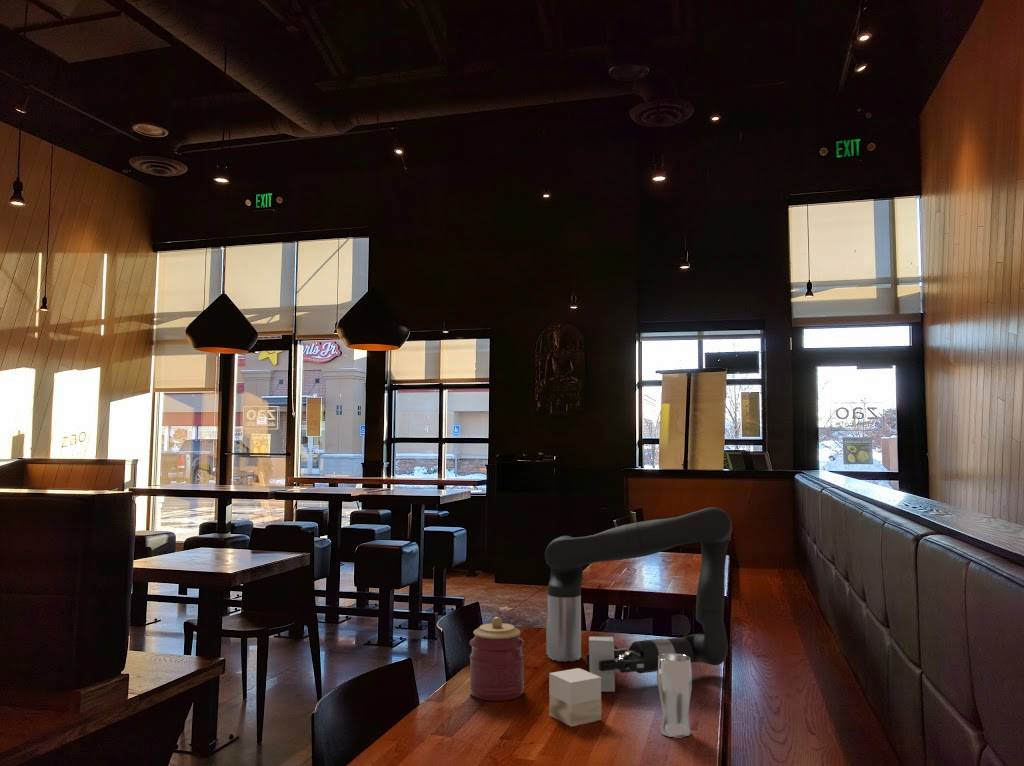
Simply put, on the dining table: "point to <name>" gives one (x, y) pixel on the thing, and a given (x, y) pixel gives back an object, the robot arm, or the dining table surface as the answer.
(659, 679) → the beer glass
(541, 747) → the dining table surface
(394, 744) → the dining table surface
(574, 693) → the tower top block
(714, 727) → the dining table surface
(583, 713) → the tower bottom block
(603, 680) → the skincare box
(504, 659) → the canister
